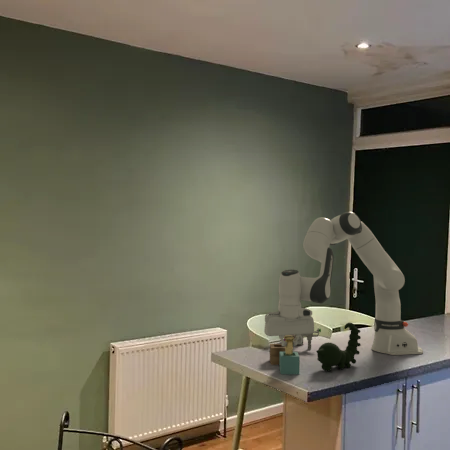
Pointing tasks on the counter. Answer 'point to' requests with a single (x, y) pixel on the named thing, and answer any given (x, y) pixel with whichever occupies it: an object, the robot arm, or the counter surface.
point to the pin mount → (275, 353)
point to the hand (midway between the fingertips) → (289, 345)
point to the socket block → (289, 363)
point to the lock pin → (289, 345)
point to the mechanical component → (309, 337)
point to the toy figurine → (339, 351)
